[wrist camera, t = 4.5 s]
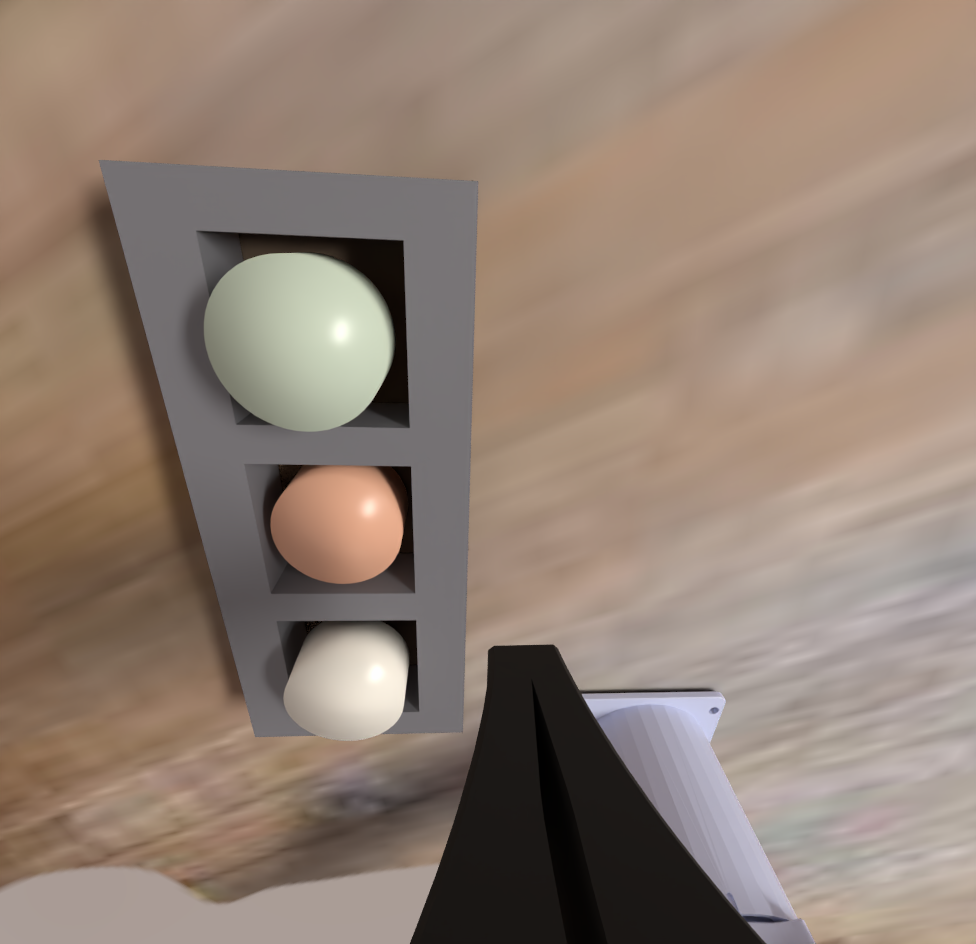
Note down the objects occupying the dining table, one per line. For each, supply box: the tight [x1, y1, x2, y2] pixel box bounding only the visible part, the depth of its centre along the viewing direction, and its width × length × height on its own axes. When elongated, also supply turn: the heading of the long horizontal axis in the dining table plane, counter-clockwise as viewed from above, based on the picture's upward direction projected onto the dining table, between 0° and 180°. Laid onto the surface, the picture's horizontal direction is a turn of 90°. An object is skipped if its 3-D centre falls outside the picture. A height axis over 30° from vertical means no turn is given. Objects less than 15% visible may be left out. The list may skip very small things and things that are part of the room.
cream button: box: [283, 620, 410, 741], centre depth 18 cm, size 4×4×2 cm
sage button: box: [204, 252, 396, 432], centre depth 13 cm, size 4×4×2 cm
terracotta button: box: [270, 465, 408, 584], centre depth 17 cm, size 4×4×2 cm
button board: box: [99, 160, 478, 737], centre depth 17 cm, size 21×9×2 cm, turn 178°
